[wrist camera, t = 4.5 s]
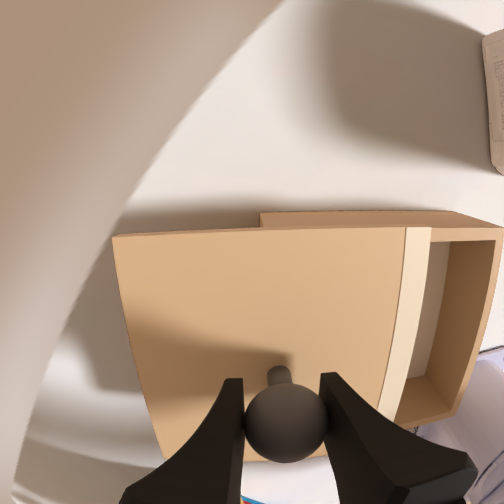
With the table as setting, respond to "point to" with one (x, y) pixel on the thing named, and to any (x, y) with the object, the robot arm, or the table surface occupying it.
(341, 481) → the robot arm
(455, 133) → the table surface
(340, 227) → the lid
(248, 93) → the table surface
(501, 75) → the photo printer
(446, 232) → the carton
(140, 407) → the table surface
